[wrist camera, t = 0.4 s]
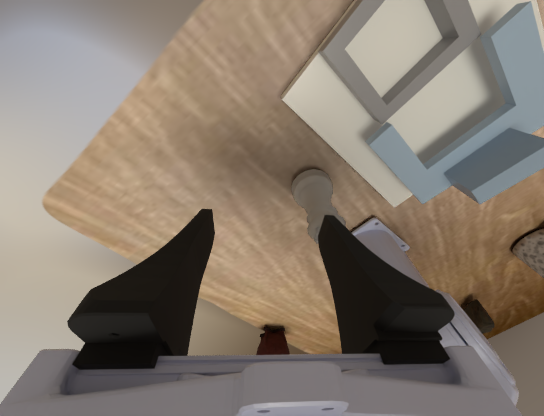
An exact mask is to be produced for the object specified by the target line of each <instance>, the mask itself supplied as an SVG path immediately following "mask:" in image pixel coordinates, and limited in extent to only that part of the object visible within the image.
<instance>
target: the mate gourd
mask: <svg viewBox="0 0 544 416" xmlns="http://www.w3.org/2000/svg"><path fill="white" fill-rule="evenodd" d="M264 330H265V333H263V334H260V337H261V342H260V344H259V347H258V350H257V354H256V355H290V354H289V349H288V346H287V341H286V338H285V335H284V331H285V329H284V328H280V329H276V330H271V329H270V328H268V327H264Z"/></svg>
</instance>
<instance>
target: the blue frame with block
mask: <svg viewBox="0 0 544 416" xmlns="http://www.w3.org/2000/svg"><path fill="white" fill-rule="evenodd" d="M480 39H481V42H482V44H483V47H484V50H485V52H486V55H487V57H488V60H489V62H490V65H491V67H492V70H493V72H494V75H495V77H496V80H497V82H498V85H499V87H500V90H501V92H502V95H503V97H504V100H505V104H504V105H503V106H501V107H500V108H499V109H497V110H496V111H494V112H493V113H492V114H490V115H489V116H488V117H486V118H485V119H484V120H482V121H481V122H480V123H478V124H477V125H476V126H474V127H473V128H471V129H470V130H469V131H467V132H466V133H465V134H463V135H462V136H461V137H459V138H458V139H457V140H455V141H454V142H453V143H451V144H450V145H448V146H447V147H446V148H444V149H443V150H442V151H440V152H439V153H438V154H436V155H435V156H434V157H432V158H431V159H430V160H428V161H427V162H425V163H424V164H422V163H421V161H420V160H419V159H418V157H417V156H416V155H415V154H414V152H413V151H412V150H411V148H410V147H409V146H408V145H407V143H406V142H405V141H404V139H403V138H402V137H401V136H400V134H399V133H398V132H397V130H396V129H395V128H394V127H393V125H392V124H390V123H388V122H386V123H385V124H384V125H383V126H382V127H381V128H379V129H378V130H377V131H376V132H375V133H374V134H373V135H372V136H371V137H370V138H368V139H367V140H366V141H365V142H366V143H367V144H368V145H369V146H370V148H371V149H372V150H373V151H374V152H375V153H376V154H377V155H378V156H379V157H380V159H381V160H382V161H383V162H384V163H385V164H386V165H387V166H388V167H389V168H390V170H391V171H392V172H393V173H394V174H395V175H396V176H397V177H398V178H399V179H400V181H401V182H402V183H403V184H404V185H405V186H406V187H407V188H408V189H409V190H410V191H411V193H412V194H413V195H414V196H415V197H416V198H417V199H418V200H419V201H420V202H421V203H422V204H424V203H426V202H427V201H429V200H430V199H432V198H433V197H435V196H436V195H438V194H439V193H441V192H442V191H444V190H446V189H447V188H449V187H450V186H452V185H453V186H454V187H456V188H457V189H459V190H460V191H461V192H463V193H464V194H466V195H467V196H469V197H470V198H472V199H473V200H474V201H476V202H477V203H479V204H482V203H483V202H485V201H487V200H489V199H490V198H492V197H494V196H496V195H497V194H499V193H501V192H502V191H504V190H506V189H508V188H509V187H511V186H513V185H515V184H516V183H518V182H520V181H522V180H523V179H525V178H527V177H529V176H530V175H532V174H534V173H535V172H537V171H539V170H541V169H542V168H544V138H541V137H538V136H534V135H531V134H532V133H533V132H535V131H536V130H538V129H539V128H541V127H542V126H544V51H543V47H542V43H541V39H540V35H539V31H538V27H537V23H536V19H535V15H534V11H533V7H532V3H531V1H529V2H524V3H519V4H516V5H515V6H514V7H513V8H512V9H511V10H509V11H508V12H507V13H506V14H505V15H504V16H503V17H502V18H501V19H500V20H498V21H497V22H496V23H495V24H494V25H493V26H492V27H491V28H490V29H489V30H487V31H486V32H485V33H484V34H483V35H482V36H481V37H480Z"/></svg>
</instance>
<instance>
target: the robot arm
mask: <svg viewBox="0 0 544 416" xmlns="http://www.w3.org/2000/svg"><path fill="white" fill-rule="evenodd" d="M214 235H215V231H214V222H213V213H212V209H201V210H200V211H199V213H198V214H197V215H196V216H195V217H194V218H193V219H192V220H191V221H190V222H189V223H188V224H187V225H186V226H185V227H184V228H183V229H182V230H181V231H180V232H179V233H178V234H177V235H176V236H175V237H174V238H173V239H172V240H171V241H169V242H168V243H167V244H166V245H165V246H163V247H162V248H161V249H160V250H158V251H157V252H156V253H154V254H153V255H151V256H150V257H148V258H147V259H145V260H144V261H142V262H141V263H139V264H138V265H136V266H134V267H133V268H131V269H129V270H128V271H126V272H124V273H122V274H121V275H119V276H117V277H115V278H113V279H111V280H109V281H107V282H105V283H103V284H101V285H99V286H97V287H95V288H93V289H91V290H90V291H89V293H88V294H87V295H86V296H85V297H84V299H83V300H82V301H81V303H80V304H79V306H78V307H77V308H76V310H75V311H74V313H73V314H72V315H71V317H70V318H69V320H68V321H67V322H68V327H69V328H70V329H71V331H72V332H74V333H75V334H76V335H77V336H78V337H79V338H81V339H82V340H83V341H84V342H85V344H84V346H83V348H82V349H81V351H78V350H73V349H72V350H71V349H48V350H47V349H44V350H41V351H40V352H39V353H38V354H37V356H36V357H35V358H34V360H33V361H32V362H31V364H30V365H29V366H28V368H27V369H26V370H25V372H24V373H23V374H22V376H21V377H20V378H19V380H18V381H17V383H16V384H15V385H14V386H13V388H12V389H11V390H10V392H9V393H8V394H7V396H6V397H5V399H4V400H3V401H2V403H1V404H0V416H522V415H521V413H520V412H519V410H518V409H517V407H516V403H517V401H518V396H519V393H518V389H517V387H516V386H515V379H514V378H513V376H512V374H511V373H510V372H509V370H508V369H507V367H506V366H505V365H504V364H503V363H502V361H501V360H500V359H499V357H498V355H497V353H496V352H495V350H494V349H493V347H492V346H491V345H490V343H489V342H488V341H487V339H486V338H485V337H484V335H483V334H482V333H481V332H480V330H479V329H478V328H477V327H476V325H475V324H474V323H473V322H472V320H471V319H470V318H469V317H468V315H467V314H466V313H465V312H464V311H463V309H462V308H461V307H460V306H459V305H458V303H457V302H456V301H455V300H454V299H453V298H452V297H451V296H450V295H449V294H448V293H445V292H441V291H440V290H436V291H434V290H432V289H430V288H429V286H428V284H427V283H426V281H425V280H424V279H423V277H422V276H421V274H420V273H419V272H418V270H417V269H416V268H415V266H414V265H413V263H412V262H411V261H410V259H409V258H408V256H407V255H406V254H405V251H407V250H408V249H409V248H410V247H409V246H408V245H407V244H406V243H405V242H404V241H403V240H402V239H400V238H399V237H398V236H397V235H396V234H395V233H393V232H392V231H391V230H390V229H389V228H388V227H386V226H385V225H384V224H383V223H382V222H381V221H379V220H378V219H377V218H371V219H370V220H369V221H367V222H366V223H364V224H363V225H361V226H360V227H359V228H357V229H356V230H354V231H353V232H350V231H349V230H348V229H347V228H346V227H345V226H344V225H343V224H342V223H341V222H340V221H339V220H338V219H337V218H336V217H335V216H334V215H324V219H323V222H322V225H321V228H320V231H319V234H318V243H319V248H320V253H321V256H322V259H323V262H324V265H325V269H326V272H327V275H328V278H329V281H330V285H331V289H332V293H333V298H334V303H335V309H336V314H337V320H338V326H339V333H340V340H341V348H342V354H302V355H219V356H217V355H215V356H187V354H188V347H189V342H190V336H191V330H192V325H193V319H194V314H195V309H196V303H197V298H198V294H199V289H200V285H201V281H202V278H203V274H204V271H205V268H206V265H207V262H208V259H209V256H210V253H211V249H212V245H213V240H214Z"/></svg>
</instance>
